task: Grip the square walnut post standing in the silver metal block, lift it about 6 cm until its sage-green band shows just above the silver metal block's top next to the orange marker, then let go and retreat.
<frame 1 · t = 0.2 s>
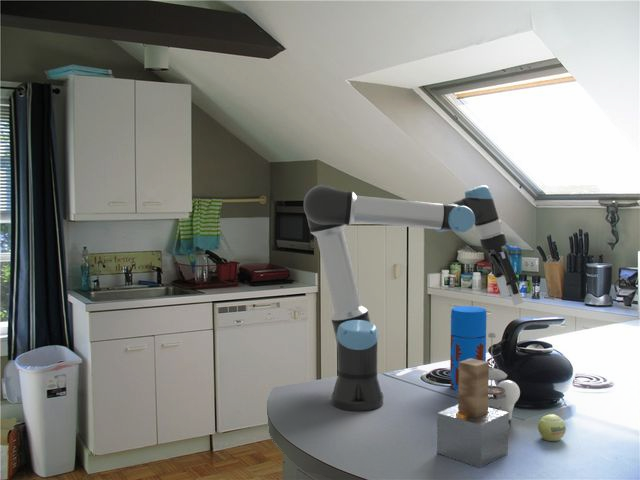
hand: (512, 300, 217), 28 cm above the counter, tool tilted 20°, fingers open, 13 cm apart
silver metal block: (472, 453, 167), on the counter
tennis ball: (551, 439, 177), on the counter
post: (473, 407, 166), point 11 cm above the counter, slide at 0.0 cm
french press: (487, 424, 187), on the counter, touching lightbulb
lightbulb: (506, 420, 190), on the counter, touching french press
thermos: (467, 388, 220), on the counter
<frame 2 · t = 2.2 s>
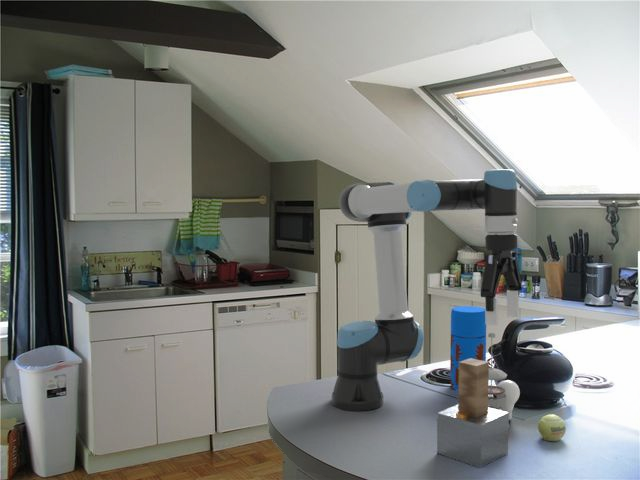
hand: (502, 320, 171), 31 cm above the counter, tool pointing down, fingers open, 13 cm apart
nothing on the counter moved.
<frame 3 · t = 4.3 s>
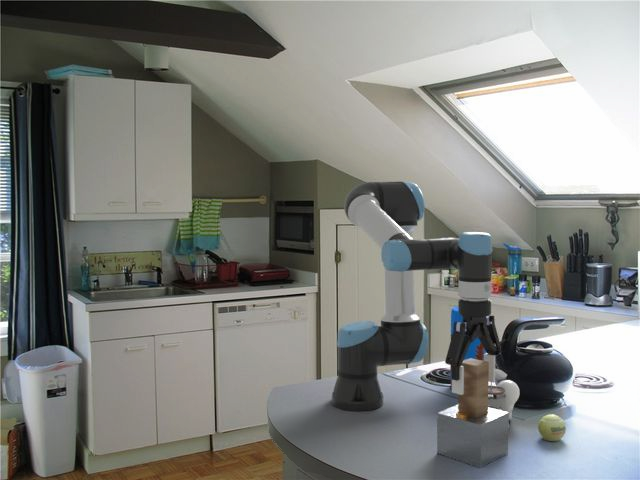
hand: (473, 387, 166), 16 cm above the counter, tool pointing down, fingers open, 13 cm apart
nothing on the counter moved.
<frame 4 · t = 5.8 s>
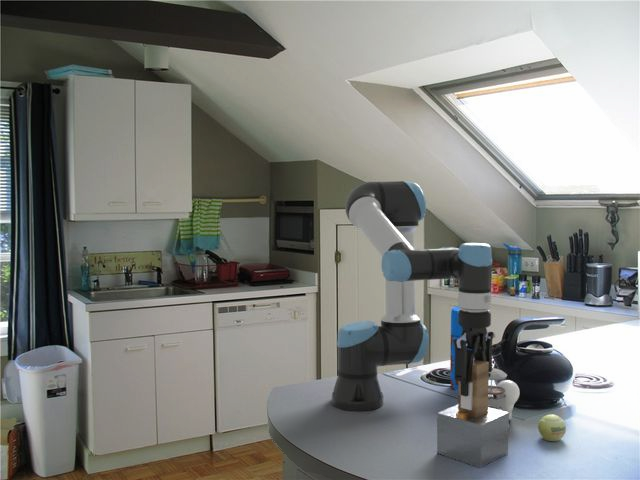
hand: (473, 405, 166), 12 cm above the counter, tool pointing down, fingers closed on post, 5 cm apart
post: (473, 407, 166), point 11 cm above the counter, slide at 0.0 cm, touching gripper
everything else where it was.
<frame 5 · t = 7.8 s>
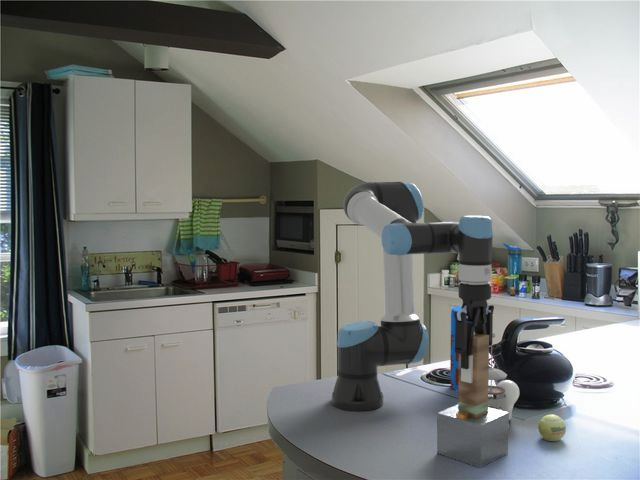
hand: (473, 379, 166), 18 cm above the counter, tool pointing down, fingers closed on post, 5 cm apart
post: (473, 380, 166), point 18 cm above the counter, slide at 6.4 cm, touching gripper
everything else where it was.
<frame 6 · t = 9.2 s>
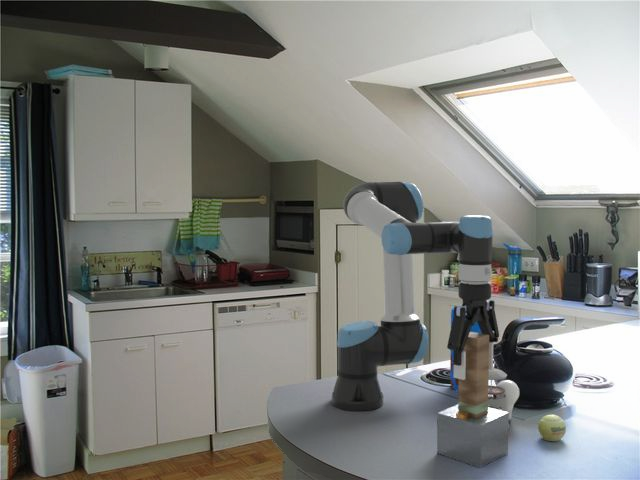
hand: (473, 373, 166), 20 cm above the counter, tool pointing down, fingers open, 11 cm apart
post: (473, 380, 166), point 18 cm above the counter, slide at 6.5 cm
everything else where it was.
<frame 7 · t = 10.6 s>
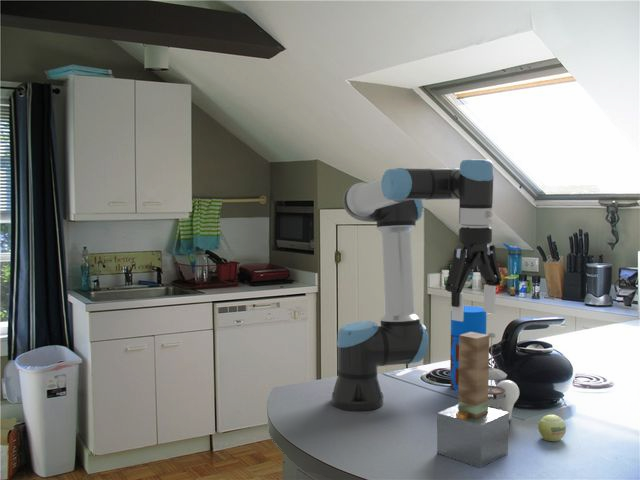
hand: (473, 316, 165), 33 cm above the counter, tool pointing down, fingers open, 13 cm apart
nothing on the counter moved.
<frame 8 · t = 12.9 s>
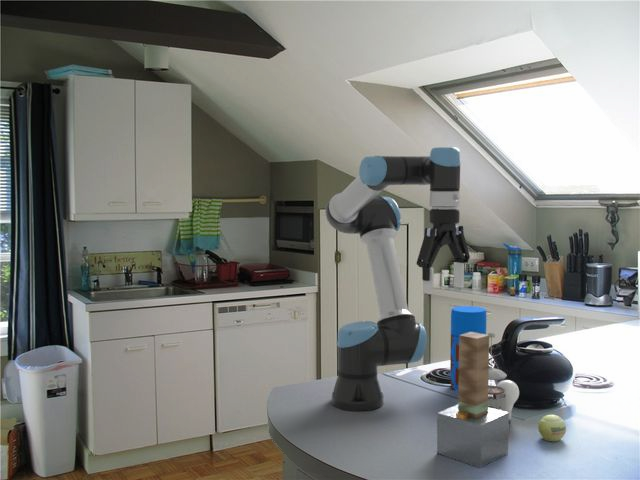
hand: (443, 290, 181), 37 cm above the counter, tool pointing down, fingers open, 13 cm apart
nothing on the counter moved.
at the end: post slide at 6.5 cm; the gripper is holding nothing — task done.
